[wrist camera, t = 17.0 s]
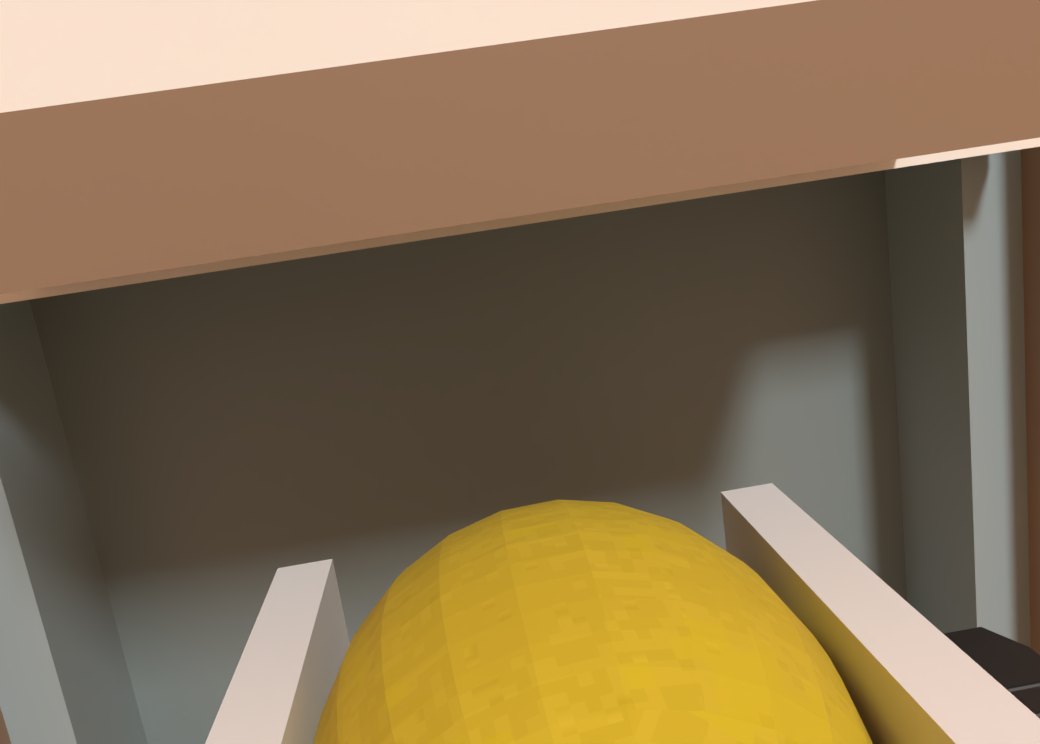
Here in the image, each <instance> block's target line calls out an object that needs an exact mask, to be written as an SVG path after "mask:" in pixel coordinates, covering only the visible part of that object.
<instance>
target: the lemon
mask: <svg viewBox="0 0 1040 744" xmlns="http://www.w3.org/2000/svg"><path fill="white" fill-rule="evenodd" d="M314 744H873V742H872V740H871V738H870V736H869V733H868V731H867V729H866V727H865V725H864V723H863V721H862V719H861V717H860V715H859V713H858V711H857V709H856V707H855V705H854V703H853V701H852V699H851V697H850V695H849V693H848V691H847V689H846V687H845V685H844V683H843V681H842V679H841V677H840V675H839V673H838V672H837V670H836V668H835V666H834V665H833V663H832V661H831V659H830V658H829V656H828V654H827V653H826V652H825V650H824V649H823V647H822V646H821V645H820V643H819V642H818V640H817V639H816V638H815V636H814V635H813V634H812V633H811V632H810V631H809V629H808V628H807V627H806V626H805V625H804V624H803V623H802V622H801V621H800V620H799V618H798V617H797V616H796V615H795V614H794V613H793V612H792V611H791V610H790V609H789V608H788V606H787V605H786V604H785V603H784V602H783V601H782V600H781V599H780V598H779V597H778V595H777V594H776V593H775V592H774V591H773V590H772V589H771V588H770V587H769V586H768V584H767V583H766V582H765V581H764V580H763V579H762V578H761V577H760V576H759V575H758V574H757V573H756V572H755V571H754V570H753V569H751V568H750V567H749V566H748V565H747V564H745V563H744V562H743V561H741V560H740V559H738V558H737V557H735V556H733V555H732V554H730V553H728V552H727V551H725V550H724V549H722V548H720V547H719V546H717V545H715V544H714V543H712V542H711V541H709V540H707V539H706V538H704V537H702V536H701V535H699V534H698V533H696V532H694V531H693V530H691V529H689V528H688V527H686V526H684V525H683V524H681V523H679V522H677V521H674V520H671V519H668V518H665V517H661V516H658V515H655V514H651V513H648V512H645V511H641V510H638V509H635V508H631V507H628V506H625V505H621V504H618V503H615V502H598V501H578V500H553V501H548V502H542V503H537V504H532V505H527V506H522V507H517V508H512V509H507V510H502V511H499V512H497V513H495V514H493V515H491V516H489V517H486V518H484V519H482V520H480V521H478V522H476V523H473V524H471V525H469V526H467V527H465V528H463V529H460V530H458V531H456V532H454V533H452V534H450V535H448V536H447V537H446V538H444V539H443V540H442V541H440V542H439V543H438V544H437V545H435V546H434V547H433V548H432V549H430V550H429V551H428V552H426V553H425V554H424V555H423V556H421V557H420V558H419V559H418V560H416V561H415V562H414V563H413V564H411V565H410V566H409V567H407V568H406V569H405V570H404V571H403V572H402V573H401V574H400V575H399V576H398V577H397V578H396V579H395V581H394V582H393V583H392V585H391V586H390V587H389V589H388V590H387V591H386V593H385V594H384V595H383V597H382V598H381V599H380V600H379V602H378V603H377V604H376V606H375V607H374V608H373V610H372V611H371V612H370V614H369V615H368V616H367V618H366V619H365V620H364V621H363V623H362V624H361V625H360V627H359V629H358V630H357V632H356V634H355V635H354V637H353V638H352V640H351V643H350V645H349V647H348V650H347V652H346V655H345V657H344V660H343V662H342V665H341V667H340V669H339V672H338V674H337V677H336V679H335V682H334V684H333V687H332V689H331V692H330V694H329V697H328V699H327V701H326V704H325V706H324V709H323V711H322V714H321V716H320V720H319V724H318V727H317V731H316V735H315V739H314Z"/></svg>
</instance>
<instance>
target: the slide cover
mask: <svg viewBox="0 0 1040 744" xmlns="http://www.w3.org/2000/svg"><path fill="white" fill-rule="evenodd" d="M1033 147H1040V0H0V304H4V303H11V302H17V301H24V300H30V299H37V298H44V297H50V296H57V295H63V294H70V293H77V292H83V291H90V290H96V289H103V288H110V287H116V286H123V285H129V284H136V283H143V282H149V281H156V280H162V279H169V278H176V277H182V276H189V275H195V274H202V273H208V272H215V271H222V270H228V269H235V268H241V267H248V266H255V265H261V264H268V263H274V262H281V261H288V260H294V259H301V258H307V257H314V256H321V255H327V254H334V253H340V252H347V251H354V250H360V249H367V248H373V247H380V246H387V245H393V244H400V243H406V242H413V241H420V240H426V239H433V238H439V237H446V236H453V235H459V234H466V233H472V232H479V231H486V230H492V229H499V228H505V227H512V226H519V225H525V224H532V223H538V222H545V221H552V220H558V219H565V218H571V217H578V216H585V215H591V214H598V213H604V212H611V211H618V210H624V209H631V208H637V207H644V206H651V205H657V204H664V203H670V202H677V201H684V200H690V199H697V198H703V197H710V196H717V195H723V194H730V193H736V192H743V191H750V190H756V189H763V188H769V187H776V186H782V185H789V184H796V183H802V182H809V181H815V180H822V179H829V178H835V177H842V176H848V175H855V174H862V173H868V172H875V171H881V170H888V169H895V168H901V167H908V166H914V165H921V164H928V163H934V162H941V161H947V160H954V159H961V158H967V157H974V156H980V155H987V154H994V153H1000V152H1007V151H1013V150H1020V149H1027V148H1033Z"/></svg>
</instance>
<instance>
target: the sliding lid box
mask: <svg viewBox="0 0 1040 744" xmlns="http://www.w3.org/2000/svg"><path fill="white" fill-rule="evenodd" d="M769 483H773V484H774V485H775V486H776V487H777V488H778V489H779V490H780V491H782V492H783V493H784V494H785V495H786V496H787V497H788V498H790V499H791V500H792V501H793V502H794V503H795V504H796V505H798V506H799V507H800V508H801V509H802V510H803V511H804V512H805V513H807V514H808V515H809V516H810V517H811V518H812V519H813V520H815V521H816V522H817V523H818V524H819V525H820V526H821V527H823V528H824V529H825V530H826V531H827V532H828V533H829V534H830V535H832V536H833V537H834V538H835V539H836V540H837V541H838V542H840V543H841V544H842V545H843V546H844V547H845V548H846V549H848V550H849V551H850V552H851V553H852V554H853V555H854V556H855V557H857V558H858V559H859V560H860V561H861V562H862V563H863V564H865V565H866V566H867V567H868V568H869V569H870V570H871V571H873V572H874V573H875V574H876V575H877V576H878V577H879V578H880V579H882V580H883V581H884V582H885V583H886V584H887V585H888V586H890V587H891V588H892V589H893V590H894V591H895V592H896V593H898V594H899V595H900V596H901V597H902V598H903V599H904V600H905V601H907V602H908V603H909V604H910V605H911V606H912V607H913V608H915V609H916V610H917V611H918V612H919V613H920V614H921V615H923V616H924V617H925V618H926V619H927V620H928V621H929V622H930V623H932V624H933V625H934V626H935V627H936V628H937V629H938V630H940V631H941V632H942V633H943V634H944V633H949V632H955V631H960V630H966V629H971V628H976V627H983V628H985V629H988V630H990V631H992V632H995V633H997V634H999V635H1002V636H1004V637H1007V638H1009V639H1011V640H1014V641H1016V642H1018V643H1021V644H1023V645H1026V646H1028V647H1030V648H1031V649H1032V650H1034V651H1035V652H1036V653H1038V654H1039V655H1040V147H1033V148H1027V149H1020V150H1013V151H1007V152H1000V153H994V154H987V155H980V156H974V157H967V158H961V159H954V160H947V161H941V162H934V163H928V164H921V165H914V166H908V167H901V168H895V169H888V170H881V171H875V172H868V173H862V174H855V175H848V176H842V177H835V178H829V179H822V180H815V181H809V182H802V183H796V184H789V185H782V186H776V187H769V188H763V189H756V190H750V191H743V192H736V193H730V194H723V195H717V196H710V197H703V198H697V199H690V200H684V201H677V202H670V203H664V204H657V205H651V206H644V207H637V208H631V209H624V210H618V211H611V212H604V213H598V214H591V215H585V216H578V217H571V218H565V219H558V220H552V221H545V222H538V223H532V224H525V225H519V226H512V227H505V228H499V229H492V230H486V231H479V232H472V233H466V234H459V235H453V236H446V237H439V238H433V239H426V240H420V241H413V242H406V243H400V244H393V245H387V246H380V247H373V248H367V249H360V250H354V251H347V252H340V253H334V254H327V255H321V256H314V257H307V258H301V259H294V260H288V261H281V262H274V263H268V264H261V265H255V266H248V267H241V268H235V269H228V270H222V271H215V272H208V273H202V274H195V275H189V276H182V277H176V278H169V279H162V280H156V281H149V282H143V283H136V284H129V285H123V286H116V287H110V288H103V289H96V290H90V291H83V292H77V293H70V294H63V295H57V296H50V297H44V298H37V299H30V300H24V301H17V302H11V303H4V304H0V744H205V743H206V740H207V738H208V735H209V733H210V730H211V728H212V726H213V723H214V721H215V718H216V716H217V714H218V711H219V709H220V706H221V704H222V702H223V699H224V697H225V694H226V692H227V689H228V687H229V685H230V682H231V680H232V677H233V675H234V673H235V670H236V668H237V665H238V663H239V661H240V658H241V656H242V653H243V651H244V648H245V646H246V644H247V641H248V639H249V636H250V634H251V632H252V629H253V627H254V624H255V622H256V620H257V617H258V615H259V612H260V610H261V607H262V605H263V603H264V600H265V598H266V595H267V593H268V591H269V588H270V586H271V583H272V581H273V578H274V576H275V574H276V571H277V569H278V568H282V567H288V566H294V565H299V564H305V563H311V562H317V561H323V560H328V559H333V564H334V569H335V574H336V579H337V583H338V588H339V593H340V598H341V603H342V608H343V613H344V618H345V623H346V627H347V632H348V637H349V642H350V643H351V640H352V638H353V637H354V635H355V634H356V632H357V630H358V629H359V627H360V625H361V624H362V623H363V621H364V620H365V619H366V618H367V616H368V615H369V614H370V612H371V611H372V610H373V608H374V607H375V606H376V604H377V603H378V602H379V600H380V599H381V598H382V597H383V595H384V594H385V593H386V591H387V590H388V589H389V587H390V586H391V585H392V583H393V582H394V581H395V579H396V578H397V577H398V576H399V575H400V574H401V573H402V572H403V571H404V570H405V569H406V568H407V567H409V566H410V565H411V564H413V563H414V562H415V561H416V560H418V559H419V558H420V557H421V556H423V555H424V554H425V553H426V552H428V551H429V550H430V549H432V548H433V547H434V546H435V545H437V544H438V543H439V542H440V541H442V540H443V539H444V538H446V537H447V536H448V535H450V534H452V533H454V532H456V531H458V530H460V529H463V528H465V527H467V526H469V525H471V524H473V523H476V522H478V521H480V520H482V519H484V518H486V517H489V516H491V515H493V514H495V513H497V512H499V511H502V510H507V509H512V508H517V507H522V506H527V505H532V504H537V503H542V502H548V501H553V500H578V501H598V502H615V503H618V504H621V505H625V506H628V507H631V508H635V509H638V510H641V511H645V512H648V513H651V514H655V515H658V516H661V517H665V518H668V519H671V520H674V521H677V522H679V523H681V524H683V525H684V526H686V527H688V528H689V529H691V530H693V531H694V532H696V533H698V534H699V535H701V536H702V537H704V538H706V539H707V540H709V541H711V542H712V543H714V544H715V545H717V546H719V547H720V548H722V549H724V550H725V551H726V541H725V531H724V521H723V511H722V501H721V492H723V491H729V490H734V489H740V488H746V487H752V486H758V485H763V484H769Z"/></svg>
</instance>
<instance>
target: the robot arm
mask: <svg viewBox="0 0 1040 744" xmlns="http://www.w3.org/2000/svg"><path fill="white" fill-rule="evenodd" d="M721 501H722V511H723V521H724V531H725V541H726V551H727V552H728V553H730V554H732V555H733V556H735V557H737V558H738V559H740V560H741V561H743V562H744V563H745V564H747V565H748V566H749V567H750V568H751V569H753V570H754V571H755V572H756V573H757V574H758V575H759V576H760V577H761V578H762V579H763V580H764V581H765V582H766V583H767V584H768V586H769V587H770V588H771V589H772V590H773V591H774V592H775V593H776V594H777V595H778V597H779V598H780V599H781V600H782V601H783V602H784V603H785V604H786V605H787V606H788V608H789V609H790V610H791V611H792V612H793V613H794V614H795V615H796V616H797V617H798V618H799V620H800V621H801V622H802V623H803V624H804V625H805V626H806V627H807V628H808V629H809V631H810V632H811V633H812V634H813V635H814V636H815V638H816V639H817V640H818V642H819V643H820V645H821V646H822V647H823V649H824V650H825V652H826V653H827V654H828V656H829V658H830V659H831V661H832V663H833V665H834V666H835V668H836V670H837V672H838V673H839V675H840V677H841V679H842V681H843V683H844V685H845V687H846V689H847V691H848V693H849V695H850V697H851V699H852V701H853V703H854V705H855V707H856V709H857V711H858V713H859V715H860V717H861V719H862V721H863V723H864V725H865V727H866V729H867V731H868V733H869V736H870V738H871V740H872V742H873V744H1040V655H1039V654H1038V653H1036V652H1035V651H1034V650H1032V649H1031V648H1030V647H1028V646H1026V645H1023V644H1021V643H1018V642H1016V641H1014V640H1011V639H1009V638H1007V637H1004V636H1002V635H999V634H997V633H995V632H992V631H990V630H988V629H985V628H983V627H976V628H971V629H966V630H960V631H955V632H949V633H944V634H943V633H942V632H941V631H940V630H938V629H937V628H936V627H935V626H934V625H933V624H932V623H930V622H929V621H928V620H927V619H926V618H925V617H924V616H923V615H921V614H920V613H919V612H918V611H917V610H916V609H915V608H913V607H912V606H911V605H910V604H909V603H908V602H907V601H905V600H904V599H903V598H902V597H901V596H900V595H899V594H898V593H896V592H895V591H894V590H893V589H892V588H891V587H890V586H888V585H887V584H886V583H885V582H884V581H883V580H882V579H880V578H879V577H878V576H877V575H876V574H875V573H874V572H873V571H871V570H870V569H869V568H868V567H867V566H866V565H865V564H863V563H862V562H861V561H860V560H859V559H858V558H857V557H855V556H854V555H853V554H852V553H851V552H850V551H849V550H848V549H846V548H845V547H844V546H843V545H842V544H841V543H840V542H838V541H837V540H836V539H835V538H834V537H833V536H832V535H830V534H829V533H828V532H827V531H826V530H825V529H824V528H823V527H821V526H820V525H819V524H818V523H817V522H816V521H815V520H813V519H812V518H811V517H810V516H809V515H808V514H807V513H805V512H804V511H803V510H802V509H801V508H800V507H799V506H798V505H796V504H795V503H794V502H793V501H792V500H791V499H790V498H788V497H787V496H786V495H785V494H784V493H783V492H782V491H780V490H779V489H778V488H777V487H776V486H775V485H774V484H773V483H769V484H763V485H758V486H752V487H746V488H740V489H734V490H729V491H723V492H721ZM349 645H350V642H349V637H348V632H347V627H346V623H345V618H344V613H343V608H342V603H341V598H340V593H339V588H338V583H337V579H336V574H335V569H334V564H333V559H328V560H323V561H317V562H311V563H305V564H299V565H294V566H288V567H282V568H278V569H277V571H276V574H275V576H274V578H273V581H272V583H271V586H270V588H269V591H268V593H267V595H266V598H265V600H264V603H263V605H262V607H261V610H260V612H259V615H258V617H257V620H256V622H255V624H254V627H253V629H252V632H251V634H250V636H249V639H248V641H247V644H246V646H245V648H244V651H243V653H242V656H241V658H240V661H239V663H238V665H237V668H236V670H235V673H234V675H233V677H232V680H231V682H230V685H229V687H228V689H227V692H226V694H225V697H224V699H223V702H222V704H221V706H220V709H219V711H218V714H217V716H216V718H215V721H214V723H213V726H212V728H211V730H210V733H209V735H208V738H207V740H206V743H205V744H314V739H315V735H316V731H317V727H318V724H319V720H320V716H321V714H322V711H323V709H324V706H325V704H326V701H327V699H328V697H329V694H330V692H331V689H332V687H333V684H334V682H335V679H336V677H337V674H338V672H339V669H340V667H341V665H342V662H343V660H344V657H345V655H346V652H347V650H348V647H349Z"/></svg>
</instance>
